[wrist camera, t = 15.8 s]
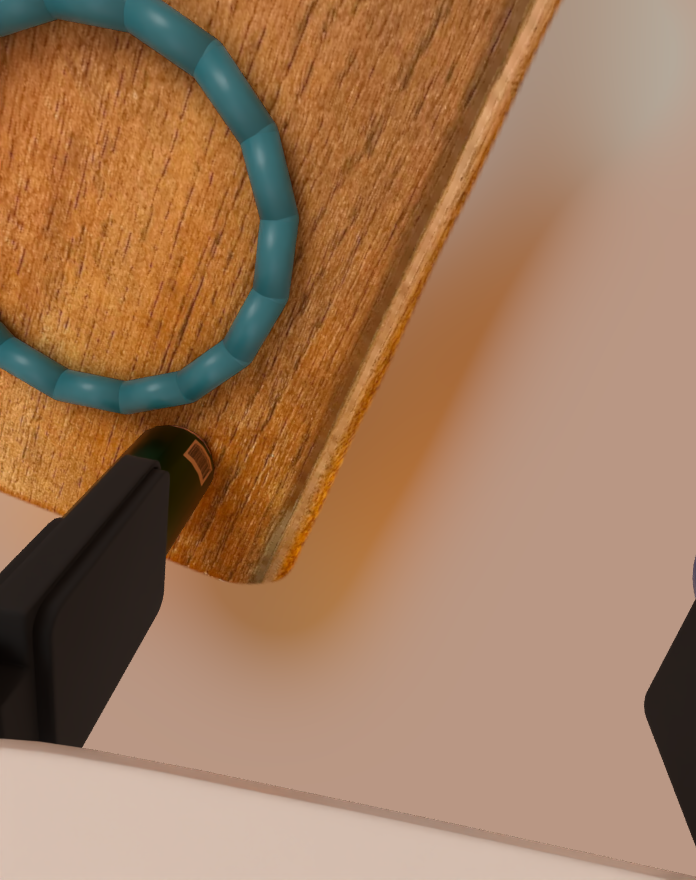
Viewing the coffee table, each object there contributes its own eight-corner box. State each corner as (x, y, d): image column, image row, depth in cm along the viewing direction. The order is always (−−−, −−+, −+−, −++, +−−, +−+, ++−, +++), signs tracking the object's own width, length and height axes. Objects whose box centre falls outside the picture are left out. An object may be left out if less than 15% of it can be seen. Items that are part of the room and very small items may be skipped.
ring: (328, 22, 30) (322, 15, 28) (273, 435, 40) (266, 449, 38) (-120, -62, 31) (-154, -75, 29) (-67, 365, 40) (-90, 376, 38)
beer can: (181, 405, 39) (90, 505, 29) (234, 471, 41) (166, 590, 30) (119, 445, 41) (12, 554, 30) (172, 507, 43) (87, 631, 32)
